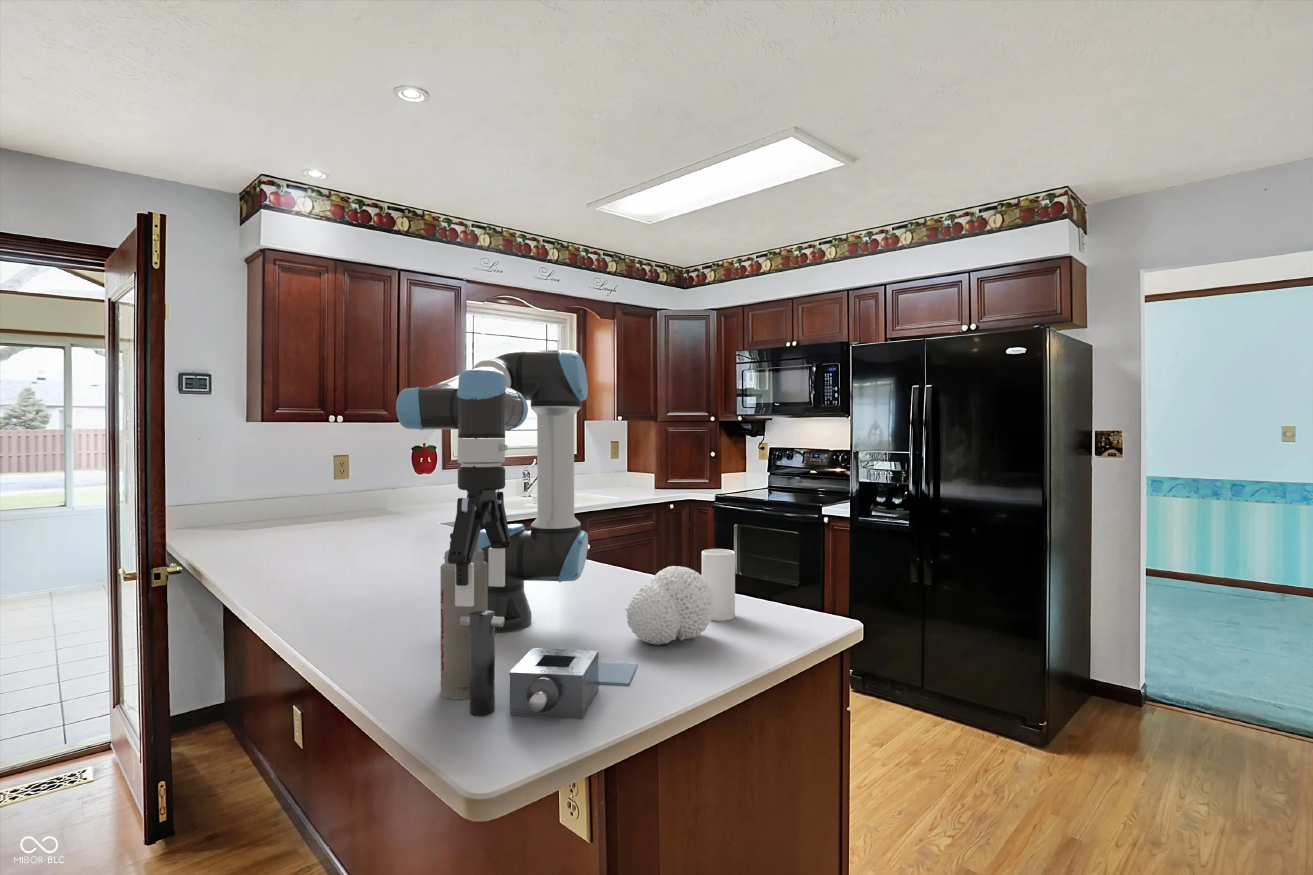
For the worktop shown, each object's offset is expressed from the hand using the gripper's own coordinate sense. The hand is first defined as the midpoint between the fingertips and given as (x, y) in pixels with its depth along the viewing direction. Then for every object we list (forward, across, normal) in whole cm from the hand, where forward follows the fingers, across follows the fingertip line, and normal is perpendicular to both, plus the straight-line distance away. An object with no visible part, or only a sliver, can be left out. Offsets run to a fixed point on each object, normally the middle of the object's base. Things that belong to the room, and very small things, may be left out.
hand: (481, 595), depth 109 cm
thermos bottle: (+19, +8, +6) cm, 22 cm away
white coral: (+19, +41, -27) cm, 53 cm away
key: (+19, 0, 0) cm, 19 cm away
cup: (+19, +62, -36) cm, 74 cm away
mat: (+19, +19, -17) cm, 32 cm away
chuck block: (+19, +3, -11) cm, 22 cm away
